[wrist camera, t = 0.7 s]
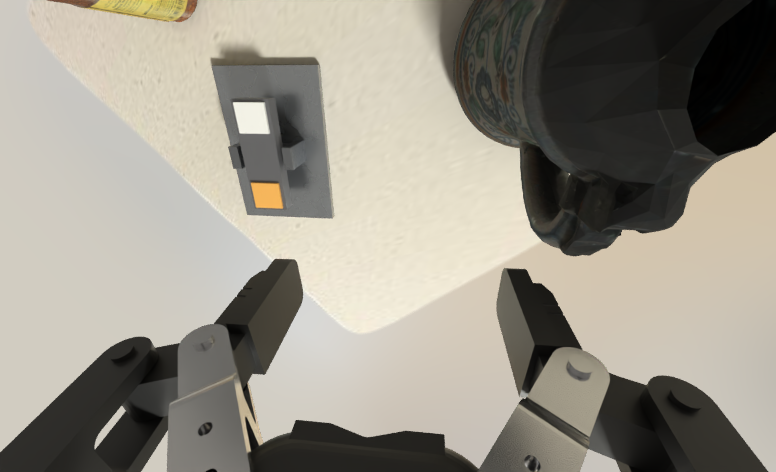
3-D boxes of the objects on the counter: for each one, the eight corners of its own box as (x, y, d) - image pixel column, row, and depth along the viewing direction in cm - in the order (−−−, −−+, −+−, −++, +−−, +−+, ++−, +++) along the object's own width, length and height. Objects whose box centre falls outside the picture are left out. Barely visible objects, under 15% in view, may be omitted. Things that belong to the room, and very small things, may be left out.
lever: (238, 97, 33) (228, 99, 31) (274, 97, 32) (266, 99, 30) (260, 203, 38) (253, 209, 37) (292, 204, 38) (286, 211, 36)
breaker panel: (215, 65, 35) (184, 65, 30) (319, 65, 34) (303, 64, 29) (250, 212, 43) (229, 229, 39) (334, 216, 42) (323, 233, 38)
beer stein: (614, -92, 26) (1687, -1010, 4) (638, 130, 33) (1045, 247, 11) (428, 13, 30) (433, -132, 9) (485, 187, 38) (567, 346, 16)
